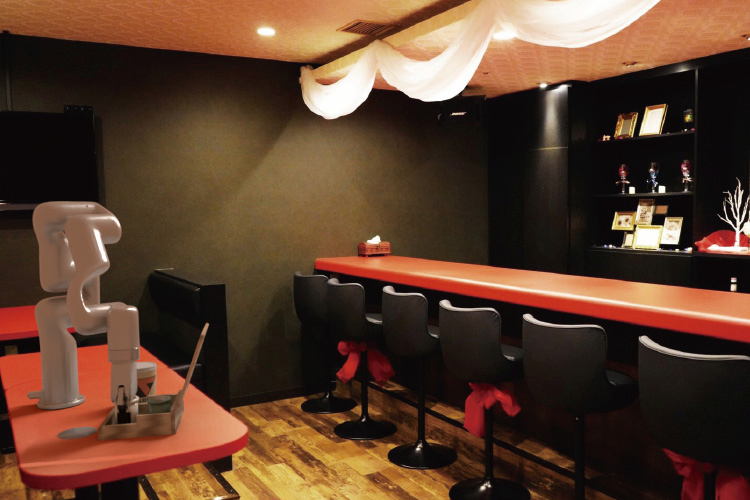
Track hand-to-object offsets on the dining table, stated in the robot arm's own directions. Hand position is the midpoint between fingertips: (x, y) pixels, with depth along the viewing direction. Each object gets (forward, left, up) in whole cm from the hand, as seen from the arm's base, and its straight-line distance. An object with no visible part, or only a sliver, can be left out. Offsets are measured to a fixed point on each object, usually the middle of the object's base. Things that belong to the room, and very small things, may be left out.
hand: (127, 423), depth 162 cm
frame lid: (+17, 0, +15) cm, 22 cm away
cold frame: (+4, 0, -1) cm, 4 cm away
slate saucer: (-11, -2, -1) cm, 12 cm away
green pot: (+8, +1, -1) cm, 8 cm away
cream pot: (0, 0, -1) cm, 1 cm away
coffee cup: (0, +20, -2) cm, 20 cm away
